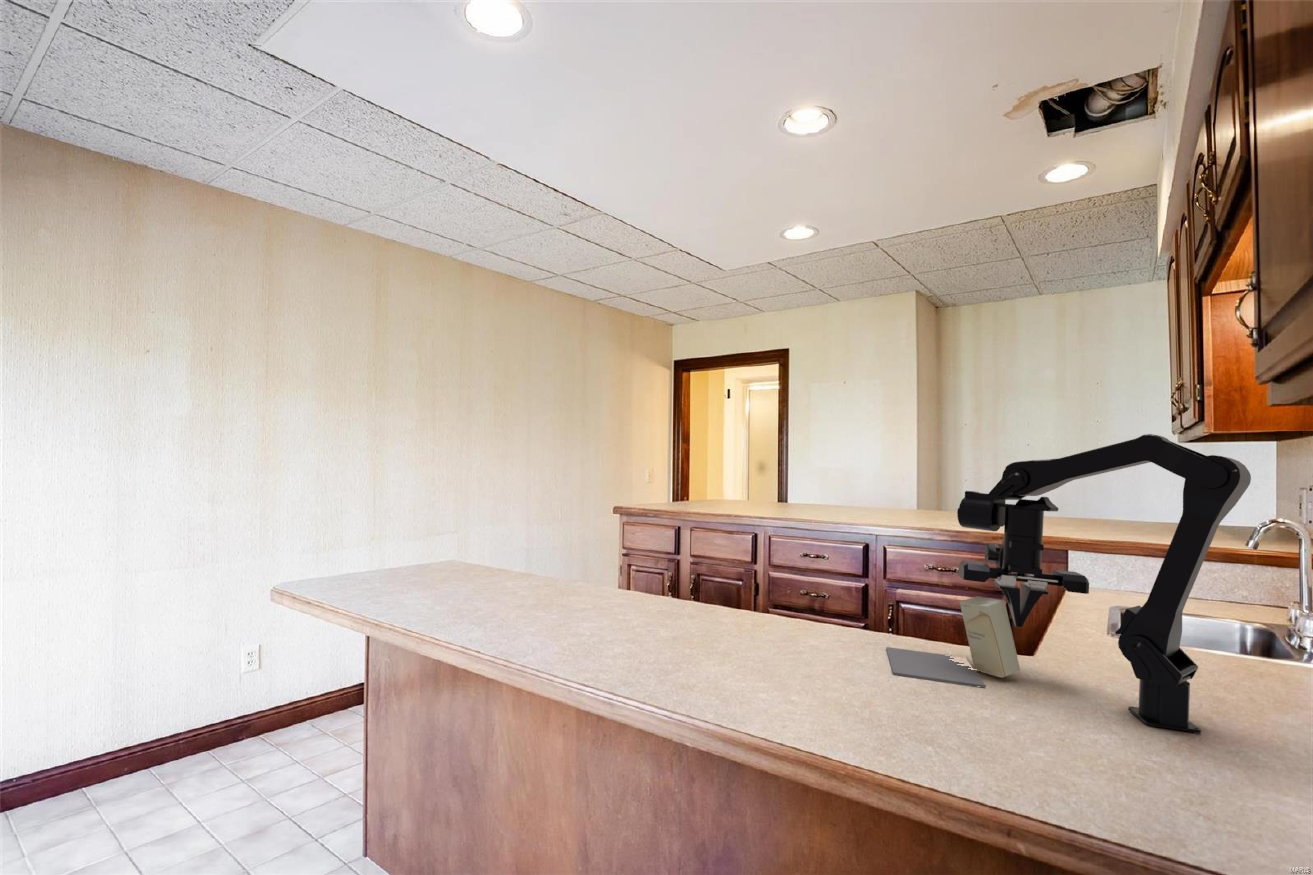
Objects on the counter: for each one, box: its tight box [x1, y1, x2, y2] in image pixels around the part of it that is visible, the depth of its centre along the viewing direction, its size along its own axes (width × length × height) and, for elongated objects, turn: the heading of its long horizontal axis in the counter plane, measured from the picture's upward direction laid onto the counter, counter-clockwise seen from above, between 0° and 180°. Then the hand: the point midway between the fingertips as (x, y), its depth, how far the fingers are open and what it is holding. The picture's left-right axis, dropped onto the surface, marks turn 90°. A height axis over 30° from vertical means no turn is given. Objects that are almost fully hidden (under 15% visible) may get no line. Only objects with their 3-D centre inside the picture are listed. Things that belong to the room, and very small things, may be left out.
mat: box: [885, 646, 987, 688], centre depth 111 cm, size 16×14×1 cm
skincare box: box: [959, 595, 1021, 678], centre depth 109 cm, size 6×4×12 cm
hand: (1018, 626), depth 108 cm, fingers closed
